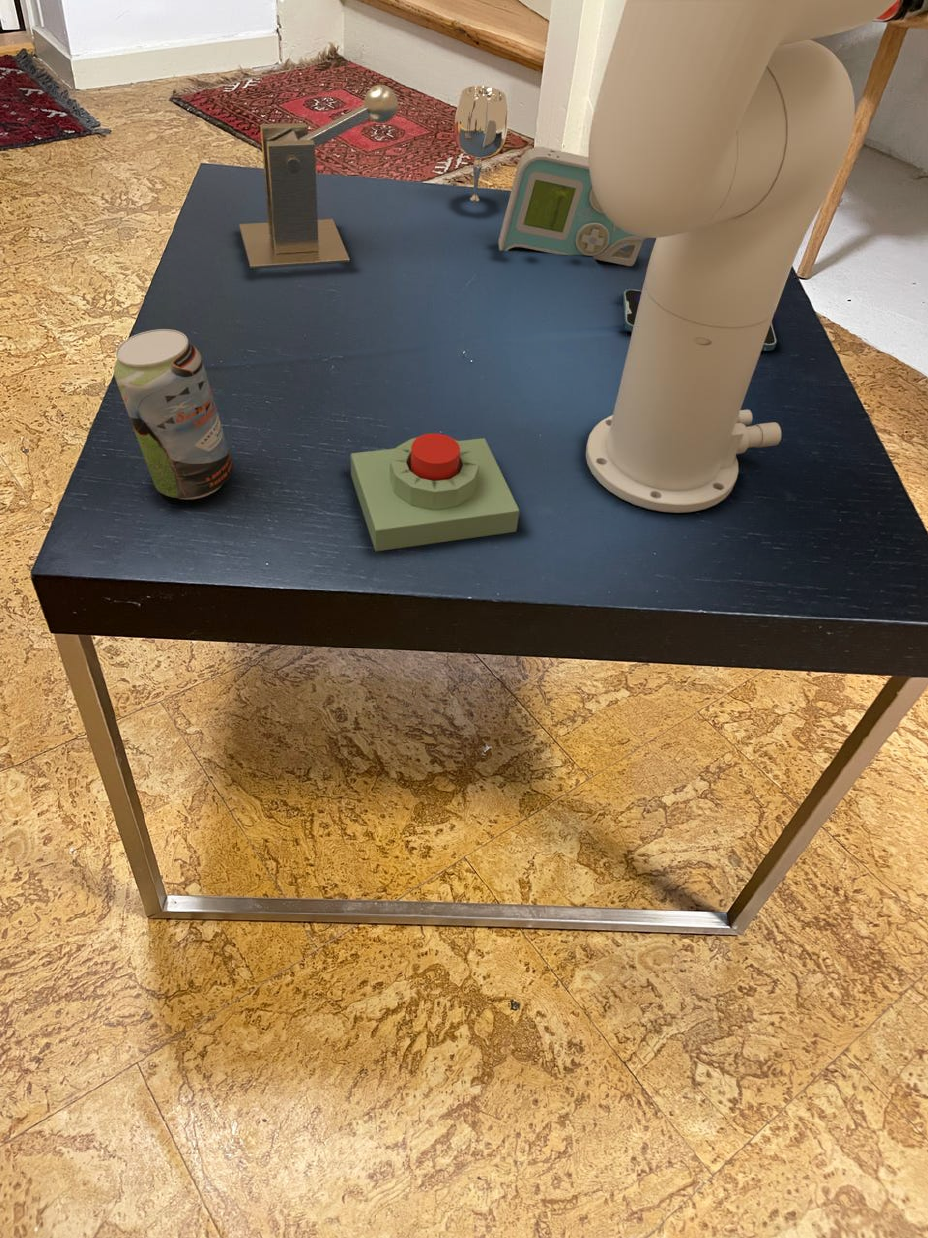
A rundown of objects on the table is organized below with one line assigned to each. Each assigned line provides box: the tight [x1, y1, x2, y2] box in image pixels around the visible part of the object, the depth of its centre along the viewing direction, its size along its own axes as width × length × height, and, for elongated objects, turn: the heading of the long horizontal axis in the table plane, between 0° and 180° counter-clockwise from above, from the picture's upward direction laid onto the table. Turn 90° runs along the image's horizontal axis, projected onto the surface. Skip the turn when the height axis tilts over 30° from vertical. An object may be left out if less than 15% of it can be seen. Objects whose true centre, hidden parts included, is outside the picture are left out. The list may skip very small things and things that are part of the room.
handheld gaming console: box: [498, 146, 647, 267], centre depth 99 cm, size 11×3×15 cm
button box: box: [350, 436, 520, 552], centre depth 72 cm, size 11×9×4 cm
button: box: [411, 432, 460, 481], centre depth 71 cm, size 4×4×2 cm
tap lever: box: [275, 84, 399, 148], centre depth 91 cm, size 13×3×3 cm, turn 106°
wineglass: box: [453, 85, 509, 202], centre depth 105 cm, size 6×6×12 cm
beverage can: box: [113, 328, 234, 500], centre depth 69 cm, size 6×7×12 cm
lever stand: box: [238, 122, 351, 270], centre depth 94 cm, size 10×9×12 cm
